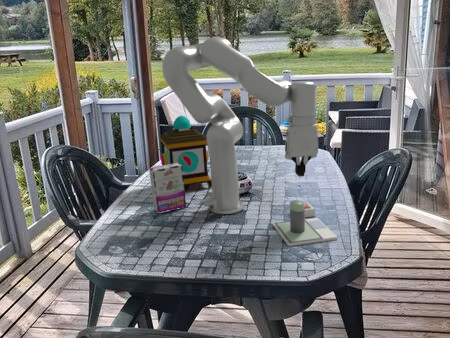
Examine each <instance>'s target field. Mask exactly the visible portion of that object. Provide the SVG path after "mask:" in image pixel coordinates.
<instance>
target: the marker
mask: <svg viewBox="0 0 450 338" xmlns="http://www.w3.org/2000/svg"><path fill="white" fill-rule="evenodd" d="M305 203H306V202H304V201H303V200H298V199H297V200H291V201H289V221H290V231H291V232H292V233H303V232H304V231H305V219H306V217H305Z"/></svg>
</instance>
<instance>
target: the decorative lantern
mask: <svg viewBox="0 0 450 338" xmlns="http://www.w3.org/2000/svg"><path fill="white" fill-rule="evenodd" d="M159 140H160V141H161V143H162V150H163V153H162V154H161V156H160V162H161V166H163V165H168V164H174V163H178V164H181V165H182V169H183V179H184V187H186V186H192V185H198V184H204V183H206V184H207V188H209V187H211V188H212V180H211V176H210V175H209V172H208V161H209V151H208V150H207V140H206V136H205V135H204V134H202V132H200V131H198V130H197V129H194V128H193V127H192V126H191V122H190V119H188V118H187V117H186V116H184V115H178V116H177V117H176V118H175V120H174V121H173V126H172V128H170V129H169V130H168V131H167V132H163V134H161V135H160V136H159Z"/></svg>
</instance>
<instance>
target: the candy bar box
mask: <svg viewBox="0 0 450 338" xmlns="http://www.w3.org/2000/svg"><path fill="white" fill-rule="evenodd" d="M148 169H149V178H150V185H151V186H150V187H151V193H152V202H153V209H155V210H156V211H157V212H162V211H167V210H172V209H177V208H182V207H186V208H187V200H186V192H185V186H184V179H183V169H182V165H181V164H178V163H174V164H168V165H163V166H162V165H158V166H155V167H154V166H153V167H149V168H148ZM182 209H183V208H182ZM155 210H154V211H155ZM156 211H155V212H156ZM157 212H156V213H157Z"/></svg>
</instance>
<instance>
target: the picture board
mask: <svg viewBox="0 0 450 338" xmlns="http://www.w3.org/2000/svg"><path fill="white" fill-rule="evenodd" d="M272 224H273V227H274V228H275V230H276V231H277V233H278V234H279V235H280V236H281V238H282V239H283V240H284V242H285V243H286V244H287V246H288V247H291V246H292V247H293V246H300V245H307V244H315V243H321V242H330V241H335V240H338V238H339V237H338V236H337V235H336V234H335V233H334V232H333V231H332V230H331V229H330V228H329V227H328V226H327V225H326V224H324V222H322V221H321V219H320V218H318V217H310V218H305V231H304V232H303V233H292V232H291V231H290V220H289V221H287V220H286V221H280V222H274V223H272Z"/></svg>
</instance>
